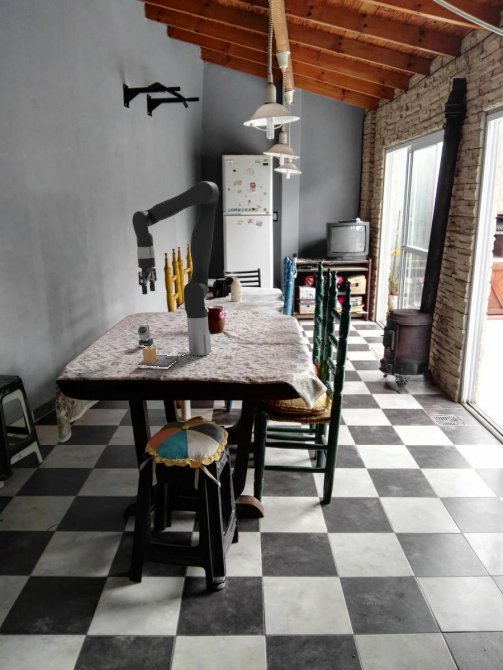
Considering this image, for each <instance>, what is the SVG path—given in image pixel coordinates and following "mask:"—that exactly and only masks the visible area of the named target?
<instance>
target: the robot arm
mask: <svg viewBox="0 0 503 670" xmlns="http://www.w3.org/2000/svg"><path fill="white" fill-rule="evenodd" d="M219 196H220V189H219V187H218V185H217V184H216V183H215V182H212V181H206V180H204V181H203V180H202V181H200V182H198V183H196V184H194V185H193V186H191V187H190V188H189V189H187V190H186V191H184V192H182V193H180V194H178V195H175V196H173V197H170V198H168V199H166V200H163V201H161V202H158V203H157V204H155V205H153V206H151V208H149V209H146V210H137V211H135V212H134V214H133V216H132V219H131V220H132V227H133V230H134V234H135V236H136V246H137V248H136V249H137V250H136V253H137V254H136V255H137V265H138V266H137V267H138V268H139V269H141V271H138V273H137V274H138V286H140V287H141V294H142V295H148V283H149V291H150V292H156V285H155V284H156V281H158V278H157V269H156V268H155V267H156V258H155V254H156V253H155V249H154V239H153V237H154V236H153V234H152V233H151V232H150V231H149V227H151V226H153V225H155V224H157V223H159V222H161V221H164V220H167V219H168V218H171V217H173V216H176V215H177V214H179V213H180V212H182V211H183V210H185V209H187V208H190V207H193V206H197V205H199V208H198V209H199V210H198V216H197V219H196V221H195V224H194V226H193V229H192V233H191V237H190V247H189V248H190V249H189V251H190V252H189V253H190V257H191V263H192V268H191V269H192V271H191V275H190V281H189V282H188V283H187V282H186V283H187V284H185V286H184V288H183V303H184V311H185V314H186V325H187V337H188V350H189V351H188V354H189V355H190V354H191V355H190V356H193V355H195V356H196V357H201V356H200V355H202V356H208V355H209V354H210V353H212V343H211V331H209V319H208V316H209V315H208V309H207V308H206V304H205V298H206V297H207V295H208V291H209V267H210V262H211V255H212V249H213V239H214V231H215V230H214V229H215V217H216V212H217V207H218V202H219ZM197 355H198V356H197ZM195 356H194V357H195Z"/></svg>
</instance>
